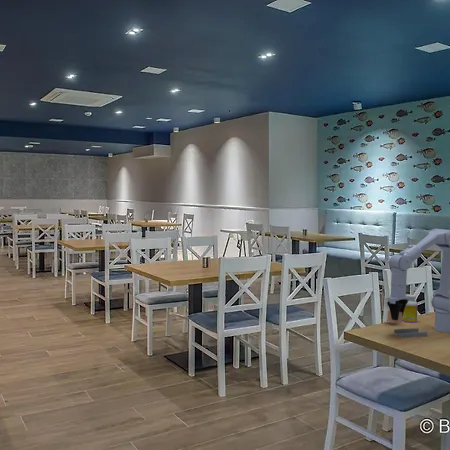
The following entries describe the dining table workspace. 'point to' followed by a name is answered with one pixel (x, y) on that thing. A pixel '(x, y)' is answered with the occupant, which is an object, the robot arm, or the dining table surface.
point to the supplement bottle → (410, 310)
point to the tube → (409, 332)
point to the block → (395, 320)
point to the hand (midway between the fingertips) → (397, 318)
